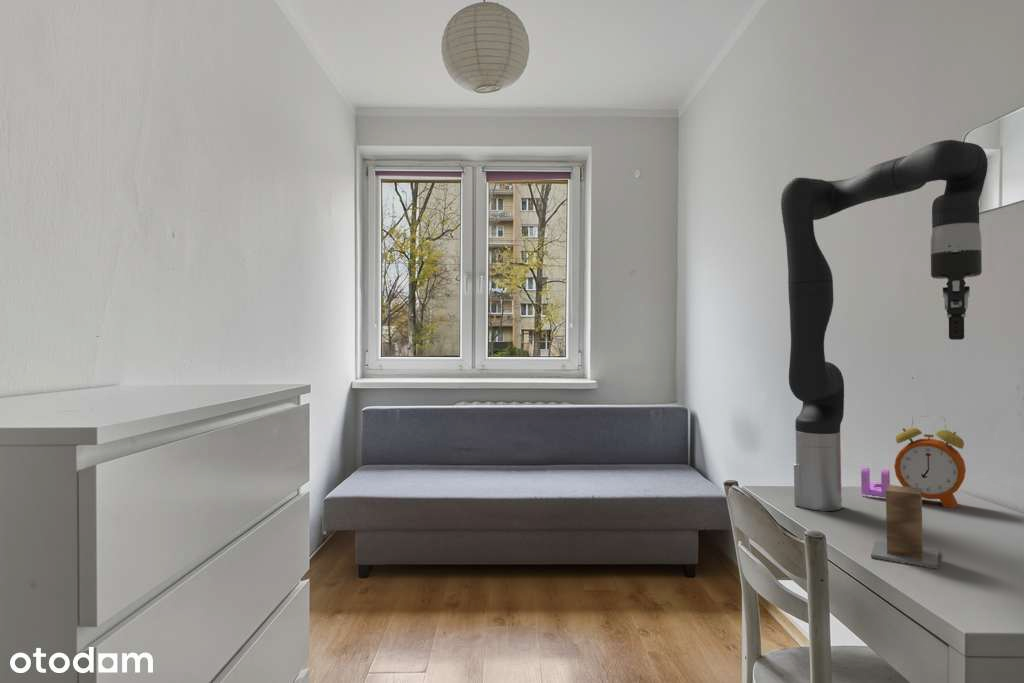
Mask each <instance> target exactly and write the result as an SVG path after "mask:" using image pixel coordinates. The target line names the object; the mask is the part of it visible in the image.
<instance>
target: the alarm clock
mask: <svg viewBox="0 0 1024 683" xmlns="http://www.w3.org/2000/svg"><path fill="white" fill-rule="evenodd" d="M921 417H922V418H923V417H927V418H929V415H927V416H926V415H924V416H922V415H921ZM940 418H942V419H943V420H944V421H946V418H945V417H943V416H940ZM911 422H912V423H911V427H910V428H904V427H903V428H902V431H901V432H899V433H898V434H897V435H896V437H895V441H896V443H897V444H901V443H903V442H905V441H908V440H909V443H908V444H907V445H905V446H904V447H903V448H902V449H900V450H899V452H898V453H897V455H896V457H895V461H894V466H893V467H894V473H895V476H896V478H897V480H898V481H899V484H900V486H903V487H912V488H922V499H927V500H940V502H941V504H942V505H943V507H944V506H945V507H944V508H949V507H953V508H952V509H956V508H957V507H956V505H957V506H958V504H957V503H958V501H957V500H956V497H955V495H954V494H955V493H956V492H958V491H959V488H960V487H961V485H963V482H964V480H965V476H966V473H967V472H966V471H967V469H966V468H967V467H966V464H965V460H964V459H963V457H962V455H961V453H960V452H959V451H958V450H957V449H956V448H958V449H961V450H963V449H964V445H965V442H964V440H963V439H962V438H961V437H960V436H959V435H957V431H953V432H952V431H950V430H948V429H947V428H946V427H947V426H946V425H944V428H945V429H942V430H938V431H937V432H935V434H932V433H931V434H930V433H929V434H927V433H924V434H923V432H922V431H921V430H920V429H918V428H917V427H914V428H913V424H914V418H912V421H911ZM921 434H923V436H924V437H926V438H919V439H916V440H914V441H913V438H915V437H917V436H919V435H921ZM934 435H935V436H936V437H938V438H939V439H940V440H939V439H935V438H934ZM954 447H955V448H954Z"/></svg>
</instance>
